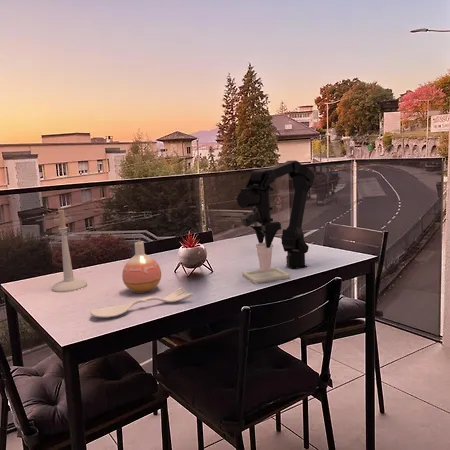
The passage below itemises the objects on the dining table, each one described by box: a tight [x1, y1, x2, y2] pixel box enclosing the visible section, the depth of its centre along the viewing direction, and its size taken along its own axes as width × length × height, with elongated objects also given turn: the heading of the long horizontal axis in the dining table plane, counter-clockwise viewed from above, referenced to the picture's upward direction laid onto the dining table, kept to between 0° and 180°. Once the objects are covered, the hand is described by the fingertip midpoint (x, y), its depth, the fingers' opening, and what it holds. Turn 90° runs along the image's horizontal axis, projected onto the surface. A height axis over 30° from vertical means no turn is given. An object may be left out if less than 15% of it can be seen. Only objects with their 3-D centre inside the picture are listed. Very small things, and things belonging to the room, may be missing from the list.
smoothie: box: [255, 242, 274, 271], centre depth 172 cm, size 6×6×14 cm
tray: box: [241, 267, 291, 285], centre depth 174 cm, size 14×12×2 cm
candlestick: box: [51, 209, 88, 293], centre depth 174 cm, size 13×13×30 cm
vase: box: [121, 241, 162, 294], centre depth 164 cm, size 14×14×18 cm
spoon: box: [90, 287, 194, 319], centre depth 146 cm, size 9×32×4 cm, turn 119°
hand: (264, 246), depth 172 cm, fingers closed on smoothie, 6 cm apart
